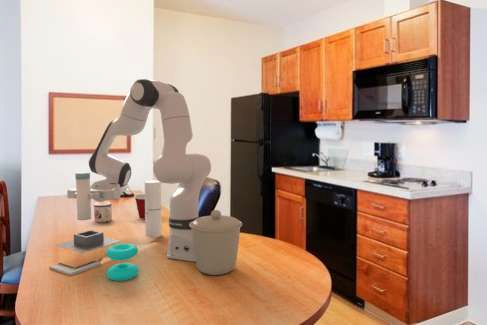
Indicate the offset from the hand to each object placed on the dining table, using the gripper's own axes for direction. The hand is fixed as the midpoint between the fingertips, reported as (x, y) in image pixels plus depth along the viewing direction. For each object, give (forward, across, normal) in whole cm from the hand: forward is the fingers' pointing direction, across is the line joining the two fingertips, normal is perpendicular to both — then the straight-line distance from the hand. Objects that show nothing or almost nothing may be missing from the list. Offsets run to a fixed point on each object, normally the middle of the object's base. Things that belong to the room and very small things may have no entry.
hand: (82, 196), depth 143 cm
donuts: (+19, +26, +23) cm, 39 cm away
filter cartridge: (-1, 0, +9) cm, 9 cm away
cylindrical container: (-28, +17, +23) cm, 40 cm away
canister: (+8, +55, +24) cm, 60 cm away
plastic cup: (-62, -3, +22) cm, 66 cm away
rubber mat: (+13, +5, +23) cm, 27 cm away
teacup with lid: (-50, -20, +22) cm, 58 cm away
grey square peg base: (-8, -3, +22) cm, 24 cm away
